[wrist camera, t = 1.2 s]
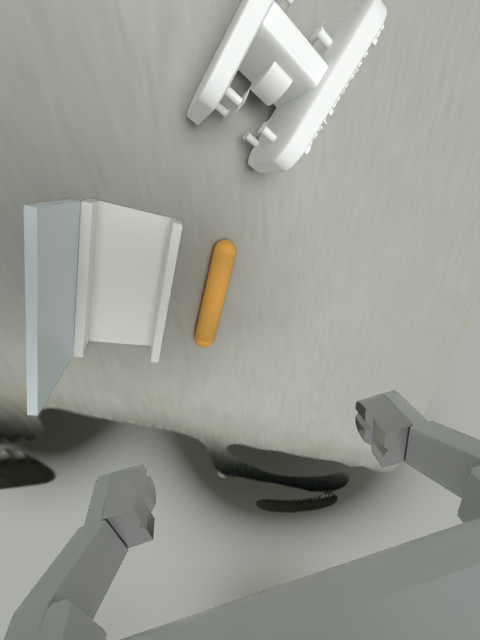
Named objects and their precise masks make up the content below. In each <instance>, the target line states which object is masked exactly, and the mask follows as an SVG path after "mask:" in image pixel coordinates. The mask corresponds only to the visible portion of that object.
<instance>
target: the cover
mask: <svg viewBox="0 0 480 640" xmlns="http://www.w3.org/2000/svg"><path fill="white" fill-rule="evenodd" d="M80 204H81V201H79V200H74V199H66V200H58V201H50V202H42V203H34V204H26V205H24V260H25V315H26V370H27V415H38V414H39V412H40V411H41V409H42V407H43V406H44V404H45V402H46V401H47V399H48V397H49V396H50V394H51V392H52V391H53V389H54V387H55V386H56V384H57V382H58V381H59V379H60V377H61V376H62V374H63V372H64V371H65V369H66V367H67V366H68V364H69V362H70V361H71V359H72V358H73V344H74V324H75V304H76V284H77V264H78V244H79V224H80Z"/></svg>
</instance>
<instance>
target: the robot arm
mask: <svg viewBox="0 0 480 640" xmlns="http://www.w3.org/2000/svg"><path fill="white" fill-rule="evenodd" d="M355 409H356V410H357V411H358V414H357V415H356V417H355V421H356V426H357V430H358V432H359V434H360V436H361V437H362V439H363V440H364V442H366V443H368V444H370V445H372V451H371V452H372V453H373V455H374V456H375V457H376V459H377V460H378V462H379V463H380V465H381V466H382V467H386V466H390V465H394V464H397V463H401V462H404V461H405V463H406V464H408V465H410V466H411V467H413V468H414V469H416V470H418V471H419V472H421V473H422V474H424V475H425V476H427V477H429V478H430V479H432V480H433V481H435V482H436V483H438V484H440V485H441V486H443V487H444V488H446V489H448V490H449V491H451V492H452V493H454V494H456V495H457V496H459V497H460V498H462V500H461V503H460V506H459V509H458V515H457V516H458V517H459V518H460V519H461V520H462V522H463V524H460V525H456V526H454V527H451V528H448V529H445V530H442V531H439V532H436V533H433V534H430V535H427V536H424V537H421V538H418V539H415V540H412V541H409V542H407V543H403V544H401V545H397V546H395V547H392V548H389V549H386V550H383V551H380V552H377V553H374V554H371V555H368V556H365V557H362V558H359V559H356V560H353V561H350V562H347V563H344V564H341V565H338V566H336V567H333V568H330V569H327V570H324V571H321V572H318V573H315V574H312V575H309V576H306V577H303V578H300V579H297V580H294V581H291V582H288V583H285V584H283V585H279V586H277V587H274V588H271V589H268V590H265V591H262V592H259V593H256V594H253V595H250V596H247V597H244V598H241V599H238V600H235V601H232V602H230V603H227V604H224V605H221V606H218V607H215V608H212V609H209V610H206V611H203V612H200V613H197V614H194V615H191V616H188V617H186V618H182V619H179V620H177V621H173V622H170V623H168V624H165V625H162V626H159V627H156V628H153V629H150V630H147V631H144V632H141V633H138V634H135V635H132V636H129V637H127V638H124V639H120V640H480V440H478V439H476V438H473V437H471V436H469V435H466V434H464V433H461V432H459V431H456V430H454V429H451V428H449V427H446V426H444V425H441V424H439V423H436V422H434V421H427V420H426V419H425V418H424V417H423V416H422V415H421V414H420V413H419V412H418V411H417V410H416V409H415V408H414V407H413V406H412V405H410V404H409V403H408V402H407V401H406V400H405V399H404V398H403V397H402V396H401V395H400V394H399V393H398V392H397V391H395V390H393V391H390V392H387V393H383V394H379V395H376V396H372V397H369V398H366V399H363V400H359V401H357V402H356V408H355ZM146 472H147V470H146V468H145V466H144V465H138V466H135V467H131V468H127V469H123V470H119V471H116V472H112V473H108V474H105V475H101V476H99V477H98V479H97V480H96V483H95V487H94V490H93V494H92V498H91V502H90V505H89V509H88V513H87V516H86V520H85V524H84V526H83V527H80V528H79V529H78V530H77V532H76V533H75V534H74V535H73V537H72V538H71V539H70V541H69V542H68V543H67V545H66V546H65V547H64V548H63V550H62V551H61V553H60V554H59V555H58V556H57V558H56V559H55V560H54V562H53V563H52V564H51V565H50V567H49V568H48V569H47V571H46V572H45V573H44V575H43V576H42V577H41V579H40V580H39V581H38V583H37V584H36V585H35V587H34V588H33V589H32V590H31V592H30V593H29V595H28V596H27V597H26V598H25V600H24V601H23V602H22V604H21V605H20V606H19V607H18V609H17V610H16V611H15V613H14V614H13V616H12V619H11V622H10V624H9V627H8V630H7V633H6V635H5V638H4V640H106V635H107V634H106V632H105V631H104V629H103V628H101V627H100V626H99V625H98V624H97V623H95V622H94V621H93V618H94V616H95V614H96V612H97V610H98V608H99V606H100V604H101V603H102V601H103V599H104V596H105V595H106V593H107V591H108V589H109V587H110V585H111V582H112V581H113V579H114V577H115V575H116V573H117V571H118V569H119V567H120V565H121V563H122V561H123V559H124V557H125V556H126V554H127V552H128V548H130V547H133V546H136V545H139V544H142V543H145V542H148V541H151V540H153V533H154V517H153V515H152V514H151V512H152V510H153V508H154V507H155V504H156V494H155V486H154V483H153V481H152V479H151V477H148V476H146Z"/></svg>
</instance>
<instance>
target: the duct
mask: <svg viewBox="0 0 480 640" xmlns="http://www.w3.org/2000/svg"><path fill="white" fill-rule="evenodd" d="M182 226H183V225H182V223H181V222H180V221H179V219H175V218H171V217H167V216H163V215H159V214H154V213H150V212H146V211H142V210H138V209H134V208H129V207H125V206H121V205H117V204H113V203H108V202H104V201H100V200H96V199H92V198H88V199H86V200H83V201H81V215H80V235H79V254H78V274H77V294H76V314H75V333H74V353H73V357H81V358H83V355H84V352H85V349H86V347H87V344H88V341H97V342H109V343H121V344H134V345H146V346H150V359H151V362H158V361H159V356H160V350H161V344H162V339H163V333H164V327H165V322H166V316H167V310H168V305H169V299H170V294H171V288H172V282H173V277H174V271H175V265H176V260H177V254H178V248H179V243H180V237H181V231H182Z"/></svg>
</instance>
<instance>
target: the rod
mask: <svg viewBox="0 0 480 640" xmlns="http://www.w3.org/2000/svg"><path fill="white" fill-rule="evenodd" d="M235 256H236V247H235V245H234V244H233V243H232V242H231V241H229V240H221V241H219V242H218V243H217V244H216V245H215V247H214V251H213V255H212V260H211V264H210V269H209V273H208V278H207V282H206V287H205V291H204V296H203V300H202V305H201V309H200V314H199V318H198V323H197V328H196V332H195V341H196V343H197V344H198V345H199V346H201V347H209V346H210V345H212V344H213V342H214V340H215V336H216V332H217V328H218V324H219V320H220V316H221V312H222V308H223V304H224V300H225V296H226V292H227V288H228V284H229V280H230V276H231V272H232V268H233V264H234V260H235Z"/></svg>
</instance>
